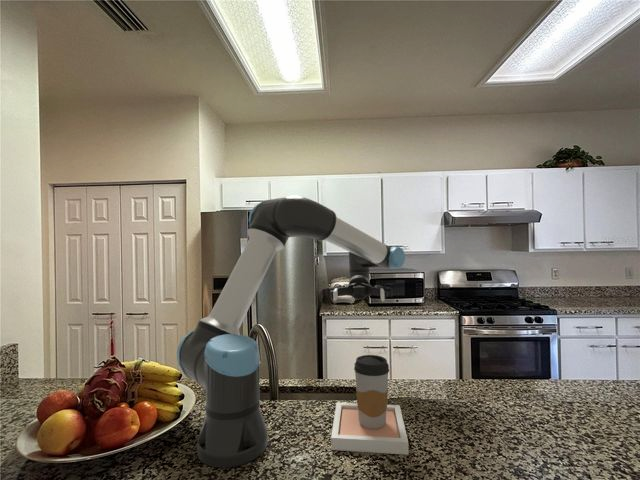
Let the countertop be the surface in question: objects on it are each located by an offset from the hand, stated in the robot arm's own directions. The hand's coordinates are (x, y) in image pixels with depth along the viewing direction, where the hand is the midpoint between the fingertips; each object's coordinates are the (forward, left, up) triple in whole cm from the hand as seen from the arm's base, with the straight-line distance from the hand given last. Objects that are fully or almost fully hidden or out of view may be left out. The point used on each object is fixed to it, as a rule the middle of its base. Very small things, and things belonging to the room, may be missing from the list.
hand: (358, 296), depth 94 cm
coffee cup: (+3, -14, -28) cm, 32 cm away
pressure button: (+2, -14, -29) cm, 32 cm away
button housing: (+2, -14, -30) cm, 33 cm away
